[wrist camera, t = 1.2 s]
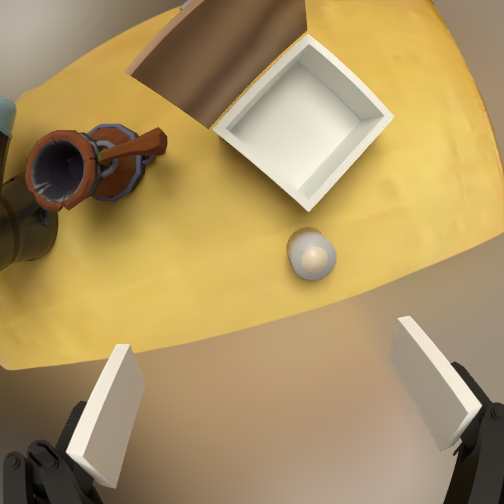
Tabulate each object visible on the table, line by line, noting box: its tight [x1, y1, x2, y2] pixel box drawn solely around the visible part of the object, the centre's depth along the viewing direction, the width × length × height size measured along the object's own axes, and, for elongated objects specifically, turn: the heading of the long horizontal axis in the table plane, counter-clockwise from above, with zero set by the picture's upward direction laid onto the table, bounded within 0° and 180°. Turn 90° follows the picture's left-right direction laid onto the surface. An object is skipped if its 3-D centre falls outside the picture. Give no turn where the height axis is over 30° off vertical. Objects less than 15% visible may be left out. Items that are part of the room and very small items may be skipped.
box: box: [212, 34, 394, 212], centre depth 32 cm, size 14×16×8 cm
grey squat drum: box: [287, 228, 336, 281], centre depth 39 cm, size 6×6×5 cm
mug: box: [25, 124, 167, 212], centre depth 29 cm, size 18×12×15 cm, turn 97°
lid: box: [125, 0, 307, 129], centre depth 19 cm, size 14×16×1 cm
